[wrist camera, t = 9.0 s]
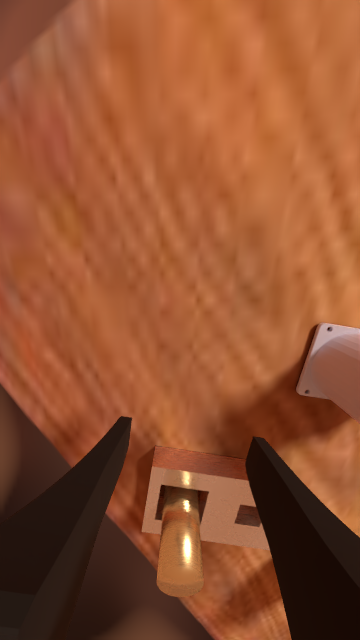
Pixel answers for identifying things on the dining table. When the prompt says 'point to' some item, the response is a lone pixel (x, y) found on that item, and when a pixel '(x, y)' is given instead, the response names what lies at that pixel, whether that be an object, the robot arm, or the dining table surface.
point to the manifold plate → (207, 496)
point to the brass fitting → (180, 544)
